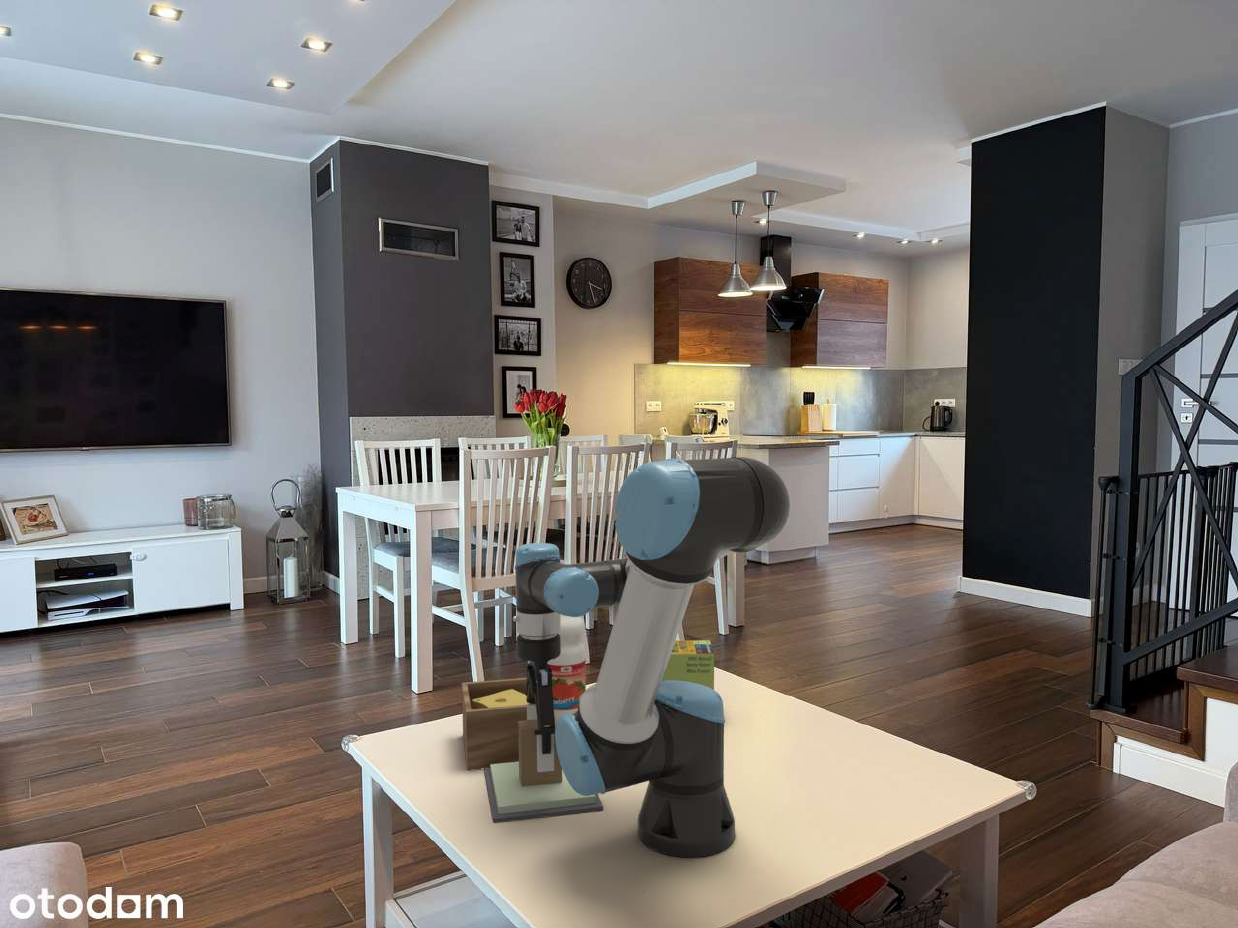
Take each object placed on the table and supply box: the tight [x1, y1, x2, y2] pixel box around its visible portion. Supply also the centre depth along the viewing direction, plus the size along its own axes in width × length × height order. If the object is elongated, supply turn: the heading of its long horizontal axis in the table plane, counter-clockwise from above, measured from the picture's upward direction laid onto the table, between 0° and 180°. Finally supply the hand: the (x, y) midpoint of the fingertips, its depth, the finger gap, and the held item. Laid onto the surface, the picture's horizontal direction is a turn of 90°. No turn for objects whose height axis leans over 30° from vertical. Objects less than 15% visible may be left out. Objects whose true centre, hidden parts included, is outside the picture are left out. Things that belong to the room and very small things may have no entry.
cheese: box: [471, 689, 530, 709], centre depth 166 cm, size 10×11×10 cm
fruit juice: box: [548, 614, 587, 718], centre depth 184 cm, size 9×9×28 cm
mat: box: [483, 767, 604, 823], centre depth 148 cm, size 20×18×1 cm
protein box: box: [662, 639, 715, 690], centre depth 182 cm, size 10×15×16 cm
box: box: [461, 677, 527, 771], centre depth 166 cm, size 17×16×11 cm
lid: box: [490, 717, 595, 814], centre depth 148 cm, size 17×16×11 cm
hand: (540, 754), depth 148 cm, fingers open, 13 cm apart
